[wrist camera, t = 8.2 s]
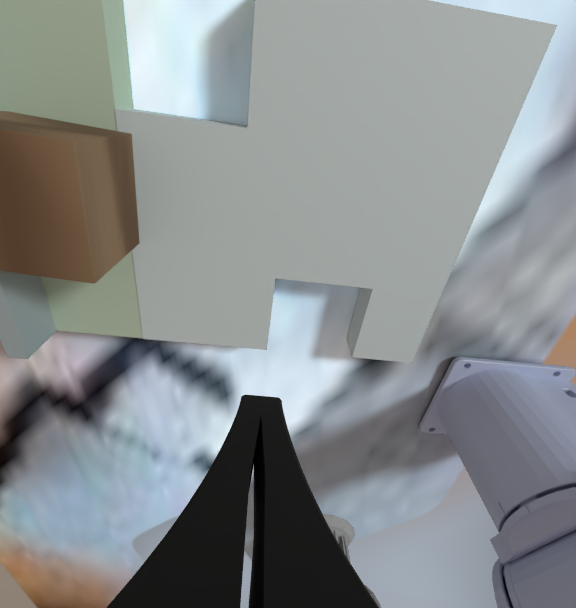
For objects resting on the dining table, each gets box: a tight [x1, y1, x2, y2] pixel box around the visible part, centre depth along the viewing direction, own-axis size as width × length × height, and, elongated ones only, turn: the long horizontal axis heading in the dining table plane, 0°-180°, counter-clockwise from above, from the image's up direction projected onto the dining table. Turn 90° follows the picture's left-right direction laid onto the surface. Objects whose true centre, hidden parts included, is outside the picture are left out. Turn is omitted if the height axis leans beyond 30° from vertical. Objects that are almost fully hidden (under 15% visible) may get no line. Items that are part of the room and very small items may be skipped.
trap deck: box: [0, 0, 557, 363], centre depth 15 cm, size 23×17×4 cm
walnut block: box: [0, 111, 139, 284], centre depth 13 cm, size 5×5×4 cm
